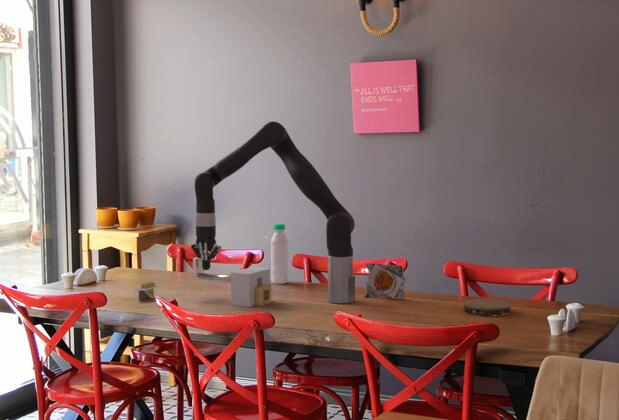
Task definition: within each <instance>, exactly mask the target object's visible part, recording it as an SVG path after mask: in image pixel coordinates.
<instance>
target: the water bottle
mask: <svg viewBox="0 0 619 420" xmlns="http://www.w3.org/2000/svg"><path fill="white" fill-rule="evenodd" d="M285 229H286V225H285V223H274V224H273V230H274V232H273V235H272V237H271V239H270V244H271V245H270V246H271V247H270V258H271V259H270V263H271V264H270V265H271V267H270V283H271V284H273V285H286V284H287V283H288V282H289V275H288V273H289V269H288V262H289V259H288V258H289V256H288V254H289V252H288V249H289V248H288V242H289V241H288V238H287V237H286V234H285ZM285 283H286V284H285Z"/></svg>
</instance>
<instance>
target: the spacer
mask: <svg viewBox="0 0 619 420" xmlns="http://www.w3.org/2000/svg"><path fill="white" fill-rule="evenodd" d="M271 303H272V283H270V284H262V285H259V286H256V287H255V305H254V306H258V307H263V306H266V305H268V304H271Z"/></svg>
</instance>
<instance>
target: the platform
mask: <svg viewBox="0 0 619 420" xmlns="http://www.w3.org/2000/svg"><path fill="white" fill-rule="evenodd" d="M157 288H159V286H158V285H156V284H155V281H149V282H143V283H141V284H140V287H135V288H134V289H135V291H137V292H138V301H139V302H140V301H144V300H147V299H154V298H155V291H154V289H157Z"/></svg>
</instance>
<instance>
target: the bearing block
mask: <svg viewBox="0 0 619 420" xmlns="http://www.w3.org/2000/svg"><path fill="white" fill-rule="evenodd" d="M230 276H231V282H230V301H231V302H230V305H231V306H236V307H238V306H239V307H246V308H251V307H254V306H255V287H256V286H259V285H262V284H271V268H268V267H255V266H251V267H247V268H244V269H239V270H238V269H237V270H234V271H231V272H230Z"/></svg>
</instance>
